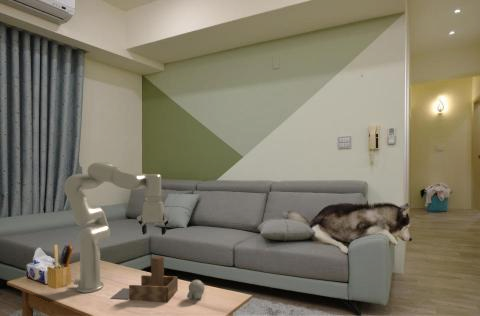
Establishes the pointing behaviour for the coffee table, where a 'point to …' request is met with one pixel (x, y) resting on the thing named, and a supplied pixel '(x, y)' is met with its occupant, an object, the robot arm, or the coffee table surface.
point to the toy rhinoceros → (196, 289)
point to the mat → (122, 294)
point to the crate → (153, 290)
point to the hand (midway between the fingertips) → (154, 234)
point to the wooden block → (157, 271)
